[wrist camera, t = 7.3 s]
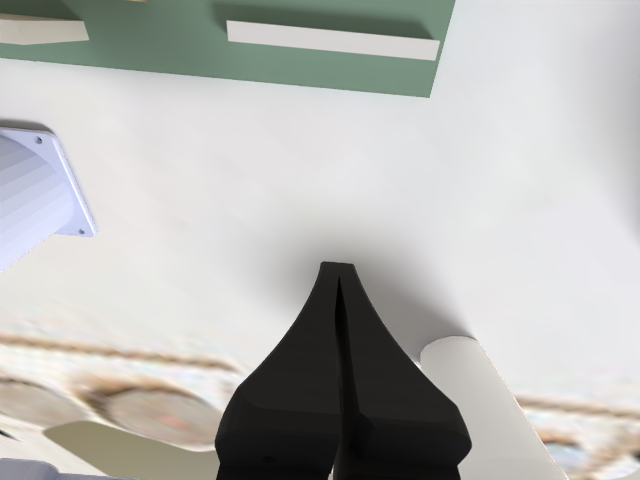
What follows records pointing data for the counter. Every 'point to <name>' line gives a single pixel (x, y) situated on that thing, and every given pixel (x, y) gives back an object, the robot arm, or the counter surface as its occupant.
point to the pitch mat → (254, 40)
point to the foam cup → (487, 414)
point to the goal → (39, 30)
